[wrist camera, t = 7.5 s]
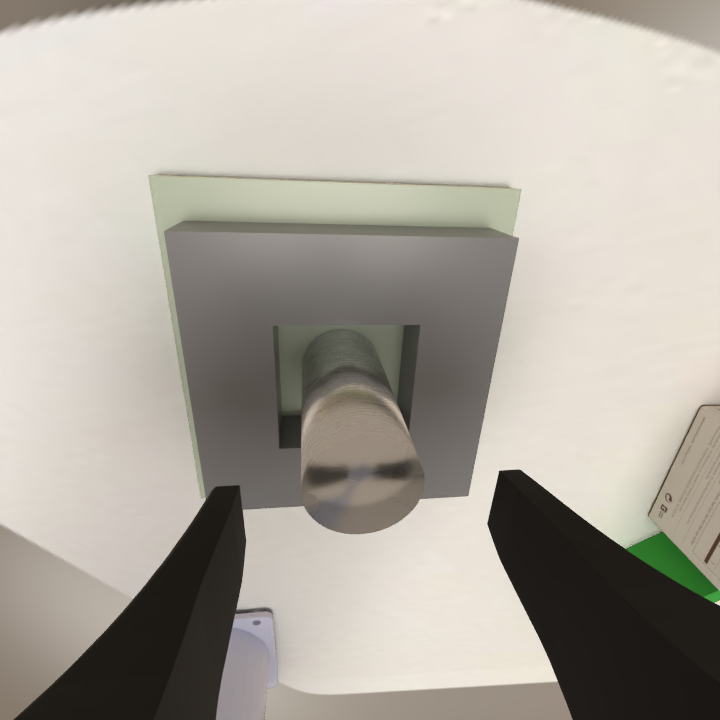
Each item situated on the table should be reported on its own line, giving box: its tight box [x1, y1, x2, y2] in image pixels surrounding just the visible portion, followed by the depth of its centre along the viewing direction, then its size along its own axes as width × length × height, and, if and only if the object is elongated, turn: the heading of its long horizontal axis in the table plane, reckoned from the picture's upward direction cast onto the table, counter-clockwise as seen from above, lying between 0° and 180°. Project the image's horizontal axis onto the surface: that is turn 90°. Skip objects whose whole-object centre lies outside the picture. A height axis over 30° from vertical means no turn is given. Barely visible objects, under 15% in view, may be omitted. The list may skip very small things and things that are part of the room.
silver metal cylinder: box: [301, 329, 425, 534], centre depth 15 cm, size 4×4×8 cm
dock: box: [148, 175, 521, 510], centre depth 18 cm, size 14×15×4 cm
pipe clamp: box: [626, 532, 720, 603], centre depth 28 cm, size 11×4×5 cm, turn 120°
